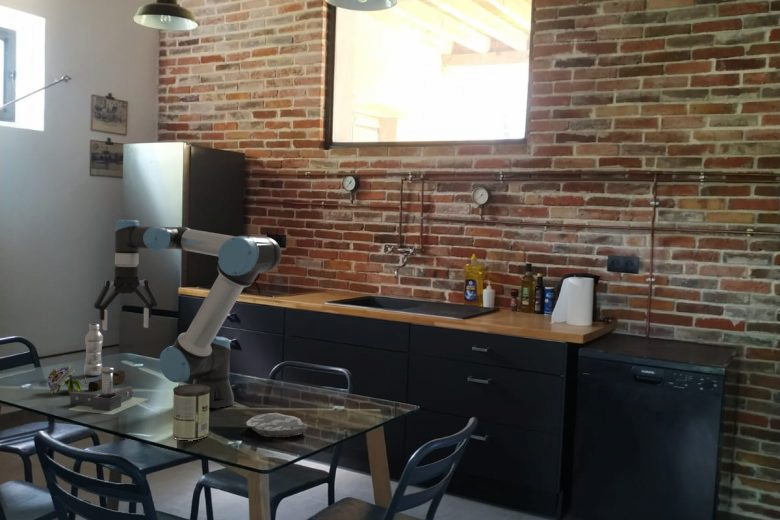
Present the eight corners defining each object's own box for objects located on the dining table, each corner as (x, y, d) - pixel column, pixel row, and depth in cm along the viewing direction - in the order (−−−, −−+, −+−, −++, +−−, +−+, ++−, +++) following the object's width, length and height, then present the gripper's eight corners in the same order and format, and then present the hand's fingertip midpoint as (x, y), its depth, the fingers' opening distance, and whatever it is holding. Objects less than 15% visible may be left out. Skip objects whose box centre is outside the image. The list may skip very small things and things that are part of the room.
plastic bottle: (84, 374, 280) (85, 323, 279) (103, 373, 282) (104, 323, 281) (82, 377, 274) (83, 325, 273) (101, 377, 276) (102, 325, 275)
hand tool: (97, 393, 253) (97, 380, 253) (87, 392, 254) (87, 379, 254) (131, 382, 271) (131, 370, 271) (122, 381, 272) (122, 369, 272)
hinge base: (121, 406, 234) (121, 394, 234) (109, 411, 228) (110, 398, 228) (77, 401, 238) (77, 389, 238) (65, 406, 232) (65, 394, 232)
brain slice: (233, 429, 217) (233, 419, 217) (279, 420, 229) (279, 410, 229) (270, 445, 204) (271, 435, 203) (317, 435, 215) (318, 425, 215)
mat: (148, 400, 245) (149, 398, 245) (112, 416, 225) (112, 414, 225) (107, 395, 249) (107, 394, 249) (67, 411, 228) (67, 409, 228)
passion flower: (53, 410, 248) (37, 380, 250) (81, 398, 256) (66, 369, 258) (65, 397, 241) (49, 366, 243) (94, 386, 250) (78, 356, 252)
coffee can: (177, 430, 213) (178, 383, 212) (212, 431, 214) (213, 384, 213) (167, 441, 203) (168, 391, 202) (204, 442, 203) (205, 393, 203)
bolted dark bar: (132, 397, 245) (133, 386, 245) (115, 405, 235) (115, 392, 235) (129, 397, 245) (129, 386, 245) (111, 404, 235) (111, 392, 235)
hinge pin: (115, 407, 233) (116, 367, 233) (108, 409, 230) (109, 369, 229) (105, 405, 234) (105, 366, 234) (97, 408, 231) (98, 368, 230)
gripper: (159, 264, 252) (158, 324, 253) (84, 265, 237) (83, 329, 238) (167, 266, 246) (166, 327, 247) (90, 266, 231) (89, 332, 232)
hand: (125, 328), depth 242 cm, fingers open, 13 cm apart
